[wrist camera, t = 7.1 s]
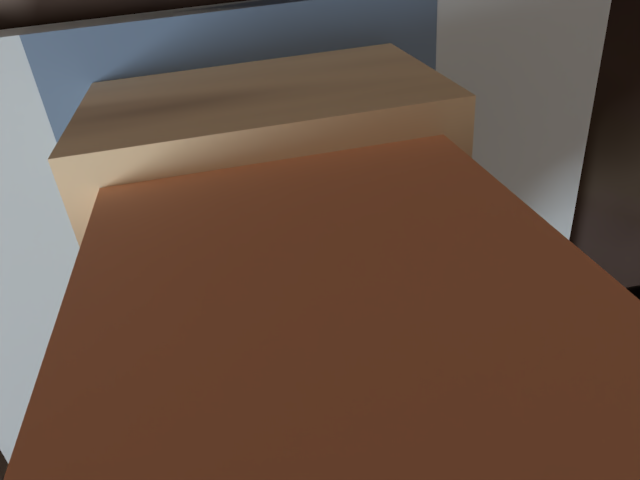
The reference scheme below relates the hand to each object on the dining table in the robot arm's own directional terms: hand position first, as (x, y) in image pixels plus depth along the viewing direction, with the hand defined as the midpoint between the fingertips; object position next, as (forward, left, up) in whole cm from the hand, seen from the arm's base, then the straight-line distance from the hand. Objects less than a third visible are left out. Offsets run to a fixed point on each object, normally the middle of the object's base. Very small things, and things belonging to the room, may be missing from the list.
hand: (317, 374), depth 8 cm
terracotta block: (0, 0, -2) cm, 2 cm away
